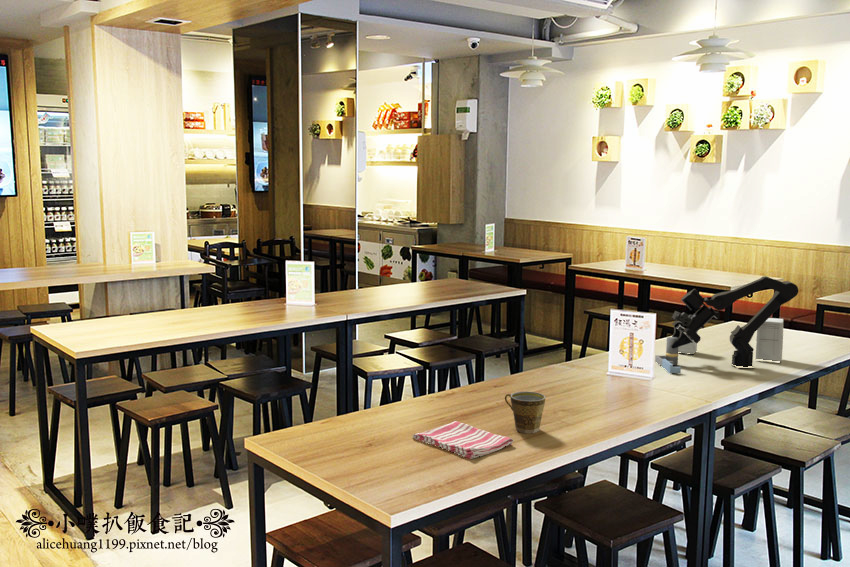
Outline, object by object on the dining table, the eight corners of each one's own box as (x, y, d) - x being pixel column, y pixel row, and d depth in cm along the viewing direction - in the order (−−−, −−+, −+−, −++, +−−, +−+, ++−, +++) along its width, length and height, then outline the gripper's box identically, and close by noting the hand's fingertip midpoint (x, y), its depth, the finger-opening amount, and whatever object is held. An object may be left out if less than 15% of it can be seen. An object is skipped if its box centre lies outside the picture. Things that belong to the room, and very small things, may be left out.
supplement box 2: (782, 359, 308) (784, 318, 306) (780, 364, 300) (783, 322, 298) (756, 356, 313) (759, 316, 311) (754, 361, 305) (757, 320, 302)
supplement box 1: (697, 352, 321) (698, 322, 320) (693, 355, 315) (694, 325, 313) (679, 350, 325) (680, 321, 324) (674, 353, 319) (676, 323, 317)
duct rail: (665, 361, 304) (665, 353, 303) (680, 374, 284) (680, 364, 284) (655, 361, 304) (655, 352, 304) (669, 373, 284) (670, 364, 284)
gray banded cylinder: (675, 362, 301) (677, 336, 300) (679, 365, 296) (680, 339, 295) (663, 362, 301) (665, 336, 300) (667, 365, 296) (668, 339, 295)
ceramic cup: (551, 429, 220) (552, 395, 218) (531, 437, 212) (532, 403, 211) (514, 420, 228) (515, 387, 227) (494, 427, 221) (495, 394, 219)
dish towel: (471, 463, 195) (471, 449, 194) (411, 440, 212) (411, 428, 211) (515, 447, 206) (515, 434, 206) (454, 427, 223) (454, 415, 223)
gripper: (678, 300, 305) (649, 327, 306) (693, 308, 286) (662, 336, 288) (697, 320, 306) (668, 346, 307) (713, 328, 287) (682, 357, 289)
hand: (670, 346), depth 298 cm, fingers closed on gray banded cylinder, 4 cm apart
